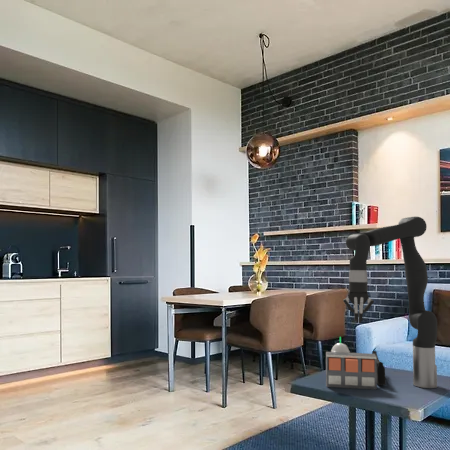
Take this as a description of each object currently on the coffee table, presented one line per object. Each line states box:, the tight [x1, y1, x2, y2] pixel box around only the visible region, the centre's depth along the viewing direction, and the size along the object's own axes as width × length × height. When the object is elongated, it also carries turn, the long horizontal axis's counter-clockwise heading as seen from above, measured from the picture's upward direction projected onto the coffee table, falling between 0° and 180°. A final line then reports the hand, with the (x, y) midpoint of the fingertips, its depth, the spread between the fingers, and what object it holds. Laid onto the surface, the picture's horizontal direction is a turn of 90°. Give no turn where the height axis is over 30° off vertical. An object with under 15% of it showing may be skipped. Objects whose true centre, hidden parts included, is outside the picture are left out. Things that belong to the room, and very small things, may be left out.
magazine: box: [371, 350, 387, 386], centre depth 227 cm, size 17×3×30 cm
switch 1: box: [328, 357, 341, 371], centre depth 214 cm, size 5×5×5 cm
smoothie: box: [330, 336, 351, 353], centre depth 223 cm, size 8×8×20 cm
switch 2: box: [345, 358, 358, 372], centre depth 211 cm, size 5×5×5 cm
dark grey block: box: [325, 351, 378, 391], centre depth 214 cm, size 21×6×14 cm, turn 80°
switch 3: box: [361, 359, 374, 372], centre depth 211 cm, size 5×5×5 cm
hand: (358, 322), depth 206 cm, fingers closed
